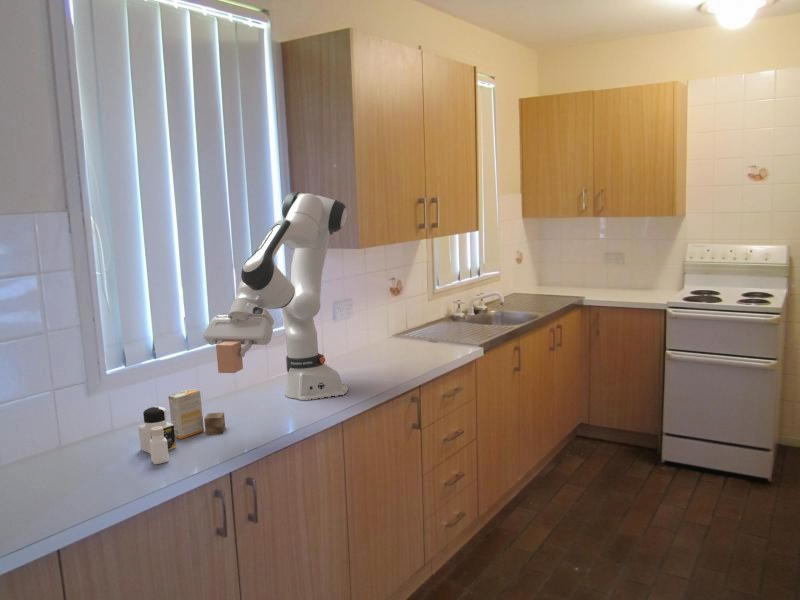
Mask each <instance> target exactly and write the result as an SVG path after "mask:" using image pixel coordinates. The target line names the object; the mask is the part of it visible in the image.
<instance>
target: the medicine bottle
mask: <svg viewBox="0 0 800 600" xmlns="http://www.w3.org/2000/svg"><path fill="white" fill-rule="evenodd" d="M142 414H143V424H142V425H139V426H138V436H139V444H140V445H139V446H140V450H141V451H144V452H145V453H148V454H149V455H151V453H150V443H149V441H150V440H151V439H152V436H151V428H153V427H156V426H162V427H163V432H164V437H165V438H166V440H167V446H168V451H169V450H172V449H175V448H176V446H177V445H176V437H175V433H174V424H171V422H168V417H167V409H166V408H165V407H162V406H151V407H148V408H147V409H145V410H143V413H142Z"/></svg>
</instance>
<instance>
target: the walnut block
mask: <svg viewBox="0 0 800 600" xmlns="http://www.w3.org/2000/svg"><path fill="white" fill-rule="evenodd" d="M203 422H204V431H205V435H214V433H218V434H223V433H224V431H225V429H226V420H225V412H223V411H222V412H212V413H210V412H209V413H207V414H206V415H205V417H204V419H203Z"/></svg>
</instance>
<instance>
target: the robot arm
mask: <svg viewBox="0 0 800 600" xmlns="http://www.w3.org/2000/svg"><path fill="white" fill-rule="evenodd" d="M281 205H282V206H281V214H282V216H283V218H284V219H280V220H278V221H276V222H275V223H274V224H273V225H272V226H271V227H270V228H269V230H268V231H267V233H266V234H265V236H264V237H263V239H262V240H261V242H259V245H258V246H257V248H256V249H255V251H254V252H253V253H252V255H251V256H249V258H248V259H247V260H246V261H245V262H244V263H243V265H242V267H241V272H240V277H241V278H240V279H241V281H240V283H239V284H238V287H237V291H236V297H235V299H233V301H232V304H231V307H230V309H229V312H228V314H224V315H222V314H221V315H220V314H218V315H216V316H214V317H211V319H210V322H209V323H208V324H207V327H206V329H205V331H204V332H203V335H202V337H203V339H204V340H205V342H206V343H207V344H209V345H217V344H220V343H222V342H225V341H241V345H243V346H241V349H239V350H238V352H237V355H238V356H239V357H242V358H244V357H245V356H246V353H247V352H248V351H249V350H250V349H251V348H252V346H255V345H256V346H257V345H258V346H259V345H260V346H261V345H262V346H267V345H268V344H270V342H271V340H272V337H273V331H274V328H273V326H274V322H275V320H274V318H273V316H272V315H271V313H270V312H269V310H270V309H271V310H278V309H280V310H281V317H282V322H283V327H284V332H285V333H284V335H285V343H286V357H285V358H286V359H285V366H286V372H287V380H286V382H287V384H286V390H285V394H284V395H285V397H287V398H291V399H297V400H299V401H312V400H318V398H320V399H325V398H324V397H328V398H332V397H331V396H335V397H339V396H338V395H343V394H345V393H346V392H347V391H348V392H349V388H348V385H347V384H345V383H344V382H342V379H341V375H340V374H339V372H338V371H337V370H335V369H334V368H332V367H331V366H329V365H328V364H326V363H325V362H326V357H325V356H324V354H323V353H322V354H321V353H320V352H319V347H318V345H319V344H318V332H317V329H316V326H315V320H314V317H316V316H317V315H318V314H319V312H320V309H321V291H322V276H323V270H324V265H325V261H326V257H327V256H326V255H327V252H328V247H329V240H330V235H333V234H334V233H337V232H339V231H340V230H342V228H344V227H343V226H344V225H345V223H346V221H347V219H348V217H347V216H348V213H347V211H348V210H347V206H346V205H345V203H344V202H342V201H340V200H337V199H336V200H334V199H331V198H329V197H326V196H321V195H318V194H317V195H316V194H313V193H310V192H309V193H301V192H300V191H293V192H292V191H291V192H289V193H287V194H286V195H285V197H284V200H283V202H282V204H281ZM282 245H284V246H285V247H289V248H292V249H294V252H293V255H292V262H291V265H290V269H291V273H290V274H291V276H290V277H291V278H290V280H289V278H288V277H286V276H285V275H284V273H283V272H282V271H281V270H280V269H279V268H278V267H277V265H276V262H275V256H276V255H277V253H278V252H279V250H280V248H281V247H282ZM348 392H347V393H348ZM347 393H346V394H347ZM346 394H345V395H346ZM343 396H344V395H343ZM311 399H312V400H311Z"/></svg>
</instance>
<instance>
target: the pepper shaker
mask: <svg viewBox="0 0 800 600" xmlns="http://www.w3.org/2000/svg"><path fill="white" fill-rule="evenodd" d="M151 436H152V439H151V440H150V441H149V443H150V453H151V454H150V453H149V454H150V460H151V462H152V463H153V465H159V464H164V463H168V462H169V460H170V457H169V456H170V455H169V450H168V446H167V440H166V438H165V437H164V432H163V427H162V426H156V427H153V428H151Z"/></svg>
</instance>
